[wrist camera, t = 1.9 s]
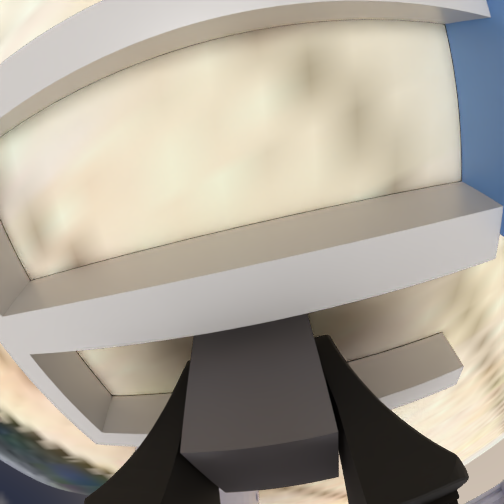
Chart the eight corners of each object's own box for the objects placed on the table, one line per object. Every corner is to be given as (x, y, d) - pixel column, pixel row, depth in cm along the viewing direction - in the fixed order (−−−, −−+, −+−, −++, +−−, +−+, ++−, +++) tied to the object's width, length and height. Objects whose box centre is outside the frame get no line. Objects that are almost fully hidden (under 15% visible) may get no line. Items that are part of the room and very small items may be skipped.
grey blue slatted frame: (458, 342, 14) (490, 394, 11) (105, 410, 16) (90, 465, 12) (464, -7, 6) (538, -20, 2) (-49, 139, 7) (-114, 169, 4)
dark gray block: (311, 357, 13) (338, 476, 8) (226, 373, 14) (225, 492, 9) (300, 289, 12) (338, 431, 6) (197, 310, 12) (180, 452, 7)
